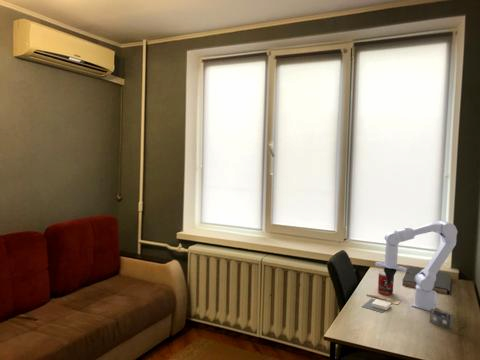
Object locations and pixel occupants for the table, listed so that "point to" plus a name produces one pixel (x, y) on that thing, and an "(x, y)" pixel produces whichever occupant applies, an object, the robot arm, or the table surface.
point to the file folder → (439, 285)
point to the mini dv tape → (440, 318)
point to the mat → (369, 306)
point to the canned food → (384, 284)
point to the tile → (381, 304)
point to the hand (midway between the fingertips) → (389, 283)
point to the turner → (385, 299)
